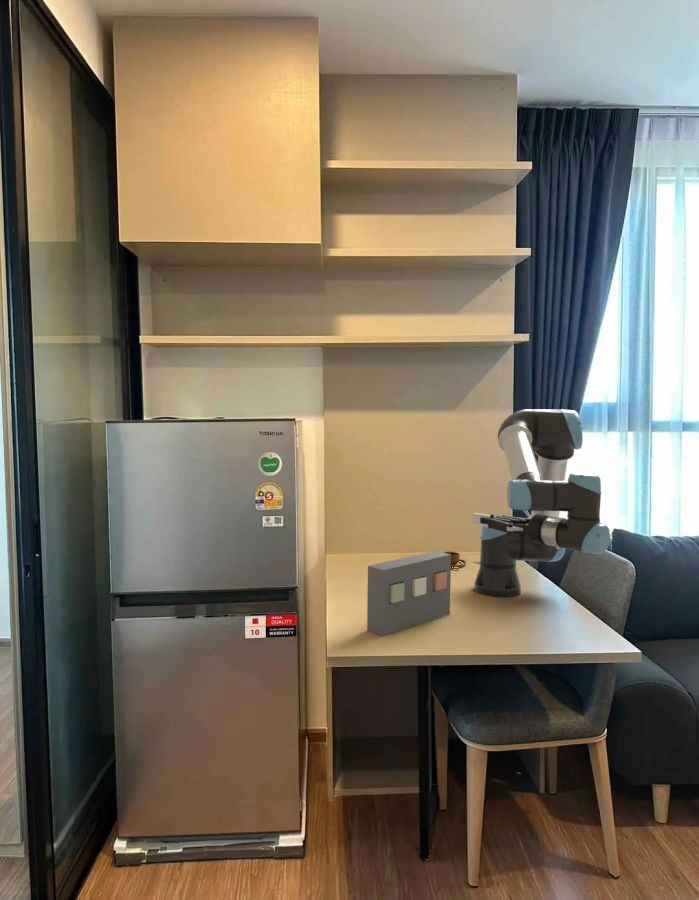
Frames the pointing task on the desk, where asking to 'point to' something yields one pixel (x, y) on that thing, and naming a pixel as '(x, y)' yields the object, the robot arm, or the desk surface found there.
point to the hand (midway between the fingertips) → (474, 517)
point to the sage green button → (396, 592)
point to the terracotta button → (439, 580)
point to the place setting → (455, 559)
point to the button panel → (406, 593)
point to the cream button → (418, 586)
